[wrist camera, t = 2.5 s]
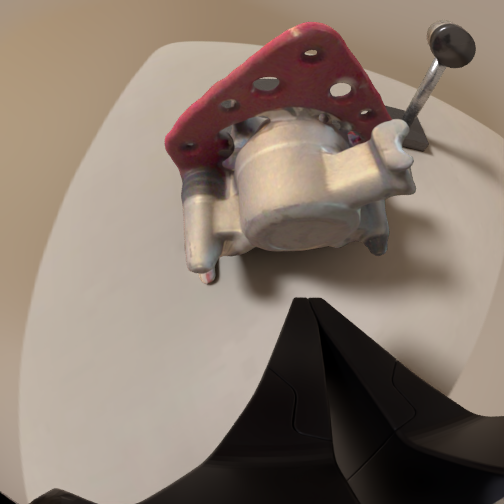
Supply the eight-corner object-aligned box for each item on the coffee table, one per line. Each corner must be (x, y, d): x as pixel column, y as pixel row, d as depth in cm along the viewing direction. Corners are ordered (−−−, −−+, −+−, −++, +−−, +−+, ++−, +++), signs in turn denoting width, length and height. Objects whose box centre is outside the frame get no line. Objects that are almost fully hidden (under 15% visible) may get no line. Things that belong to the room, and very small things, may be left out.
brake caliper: (351, 97, 17) (468, 52, 5) (349, 245, 20) (447, 335, 9) (186, 96, 16) (117, 18, 5) (195, 252, 20) (151, 368, 9)
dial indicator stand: (423, 151, 19) (492, 51, 8) (387, 143, 19) (451, 26, 8) (411, 120, 20) (465, 24, 9) (377, 112, 20) (425, 4, 9)
